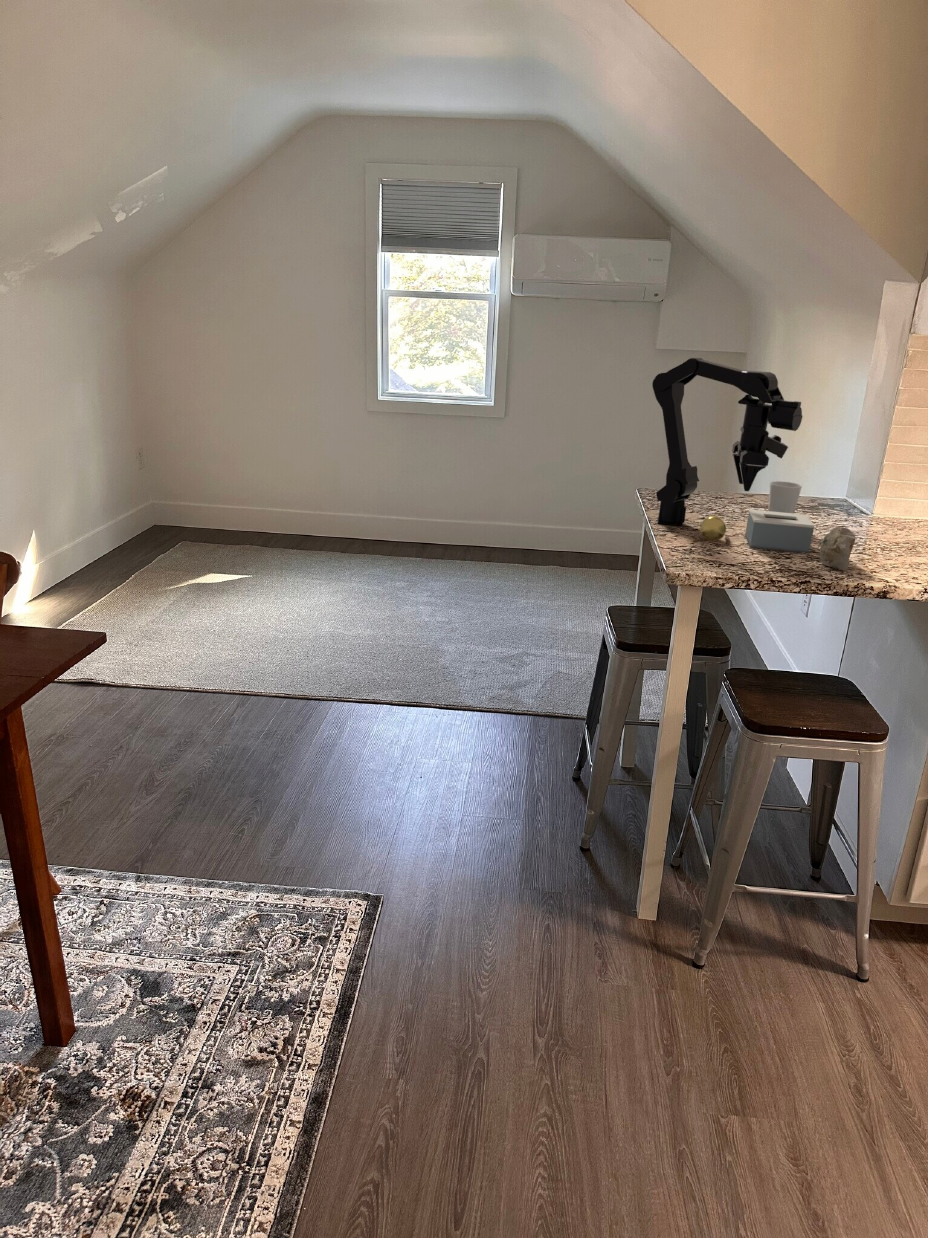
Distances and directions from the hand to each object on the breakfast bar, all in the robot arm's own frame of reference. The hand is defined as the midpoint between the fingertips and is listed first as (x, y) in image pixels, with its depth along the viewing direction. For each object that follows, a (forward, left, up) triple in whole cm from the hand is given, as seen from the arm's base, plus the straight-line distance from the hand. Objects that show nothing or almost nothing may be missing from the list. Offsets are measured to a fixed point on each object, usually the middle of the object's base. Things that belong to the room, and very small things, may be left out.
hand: (743, 487), depth 228 cm
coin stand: (-6, -6, -13) cm, 15 cm away
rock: (+21, -19, -13) cm, 31 cm away
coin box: (+10, -4, -13) cm, 16 cm away
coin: (-6, -6, -13) cm, 16 cm away
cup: (+13, +15, -13) cm, 24 cm away
